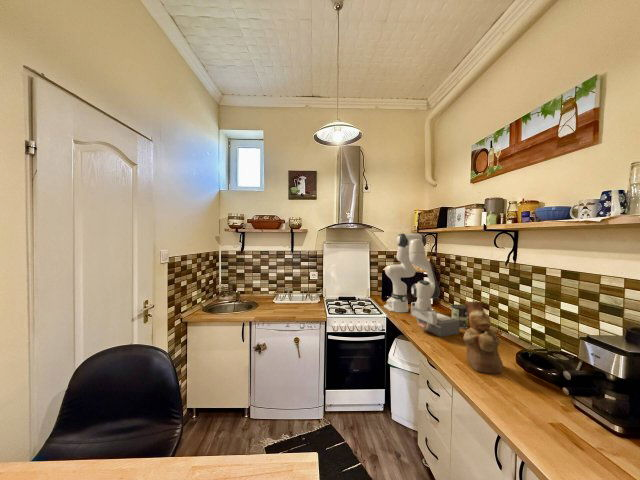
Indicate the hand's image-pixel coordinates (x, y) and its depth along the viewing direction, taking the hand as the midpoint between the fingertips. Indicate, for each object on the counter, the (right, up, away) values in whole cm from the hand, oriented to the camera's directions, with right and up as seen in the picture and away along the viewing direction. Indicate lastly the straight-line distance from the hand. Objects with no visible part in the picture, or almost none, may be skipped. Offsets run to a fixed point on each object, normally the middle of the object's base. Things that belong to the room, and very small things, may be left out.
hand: (423, 326), depth 164 cm
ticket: (+7, 0, +3) cm, 8 cm away
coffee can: (+31, -4, +12) cm, 33 cm away
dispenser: (+12, -4, +5) cm, 14 cm away
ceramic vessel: (+12, -5, -39) cm, 41 cm away
